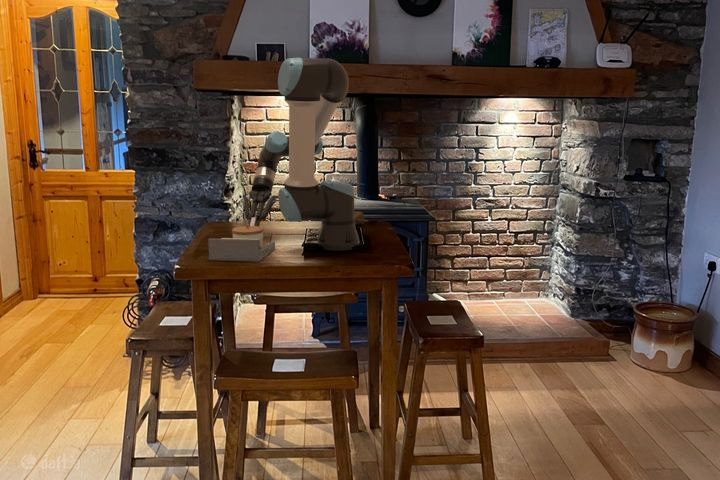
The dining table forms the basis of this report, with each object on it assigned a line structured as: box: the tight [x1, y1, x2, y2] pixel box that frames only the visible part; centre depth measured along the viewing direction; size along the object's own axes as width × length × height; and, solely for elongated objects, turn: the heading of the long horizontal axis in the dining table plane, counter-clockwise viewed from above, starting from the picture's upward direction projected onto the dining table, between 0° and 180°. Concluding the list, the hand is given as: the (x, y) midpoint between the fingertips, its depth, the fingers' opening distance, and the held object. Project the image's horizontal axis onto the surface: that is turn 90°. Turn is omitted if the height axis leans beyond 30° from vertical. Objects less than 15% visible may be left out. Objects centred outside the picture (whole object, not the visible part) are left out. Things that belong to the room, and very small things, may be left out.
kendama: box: [354, 210, 369, 227], centre depth 267 cm, size 6×10×20 cm
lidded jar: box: [231, 223, 264, 247], centre depth 225 cm, size 11×11×9 cm
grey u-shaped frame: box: [207, 237, 276, 263], centre depth 219 cm, size 17×18×7 cm
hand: (251, 234), depth 231 cm, fingers closed
